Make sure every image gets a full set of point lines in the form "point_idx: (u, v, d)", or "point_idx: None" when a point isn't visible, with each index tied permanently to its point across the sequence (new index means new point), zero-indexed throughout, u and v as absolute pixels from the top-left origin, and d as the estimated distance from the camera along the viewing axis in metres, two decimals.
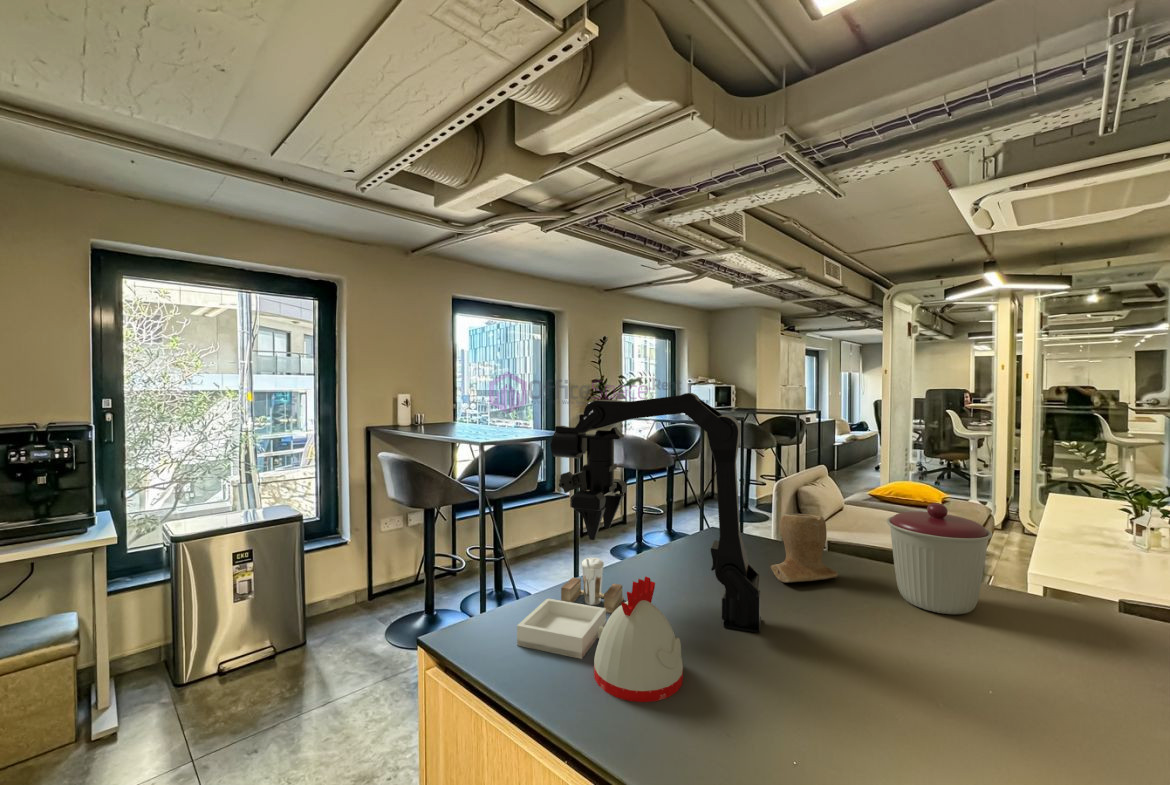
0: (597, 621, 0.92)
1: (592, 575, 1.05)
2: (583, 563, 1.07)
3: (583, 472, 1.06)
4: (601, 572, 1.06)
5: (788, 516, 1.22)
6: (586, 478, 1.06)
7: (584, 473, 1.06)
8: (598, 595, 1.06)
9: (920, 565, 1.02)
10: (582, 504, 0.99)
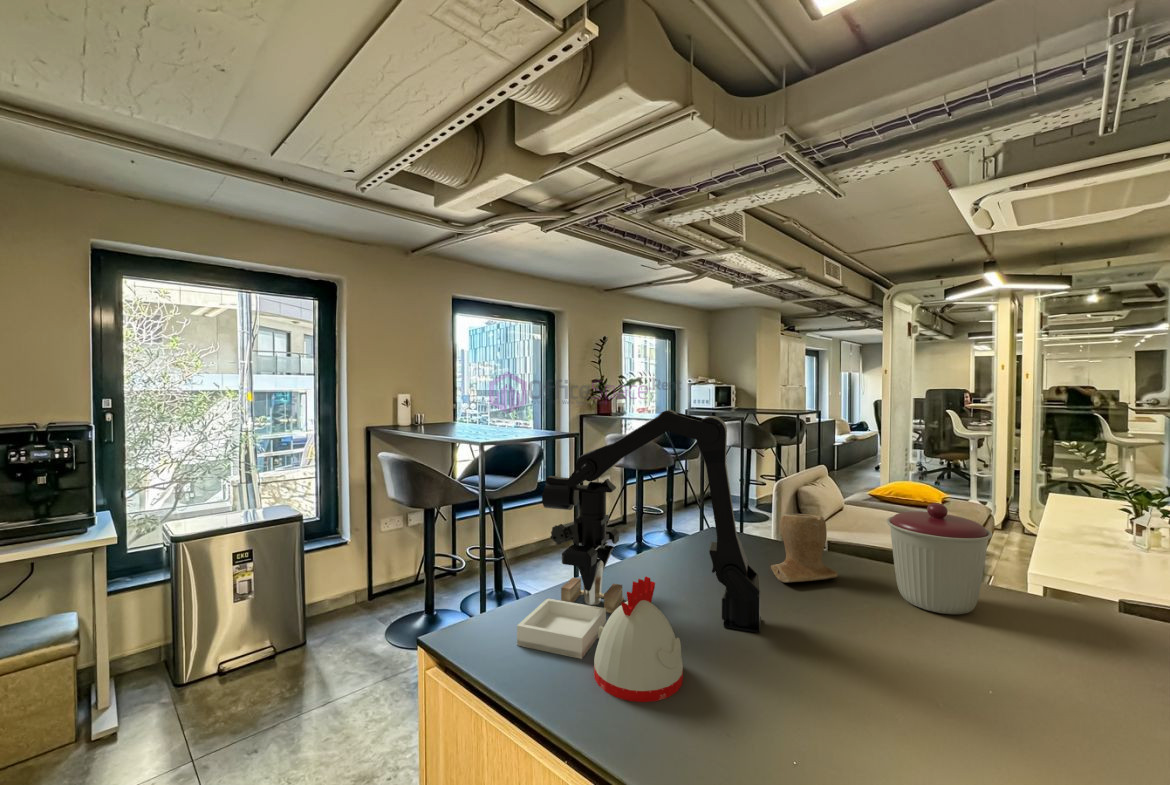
0: (597, 621, 0.92)
1: None
2: None
3: (575, 525, 1.06)
4: (601, 572, 1.06)
5: (788, 516, 1.22)
6: (578, 531, 1.05)
7: (576, 526, 1.05)
8: (598, 595, 1.06)
9: (920, 565, 1.02)
10: (573, 561, 0.98)
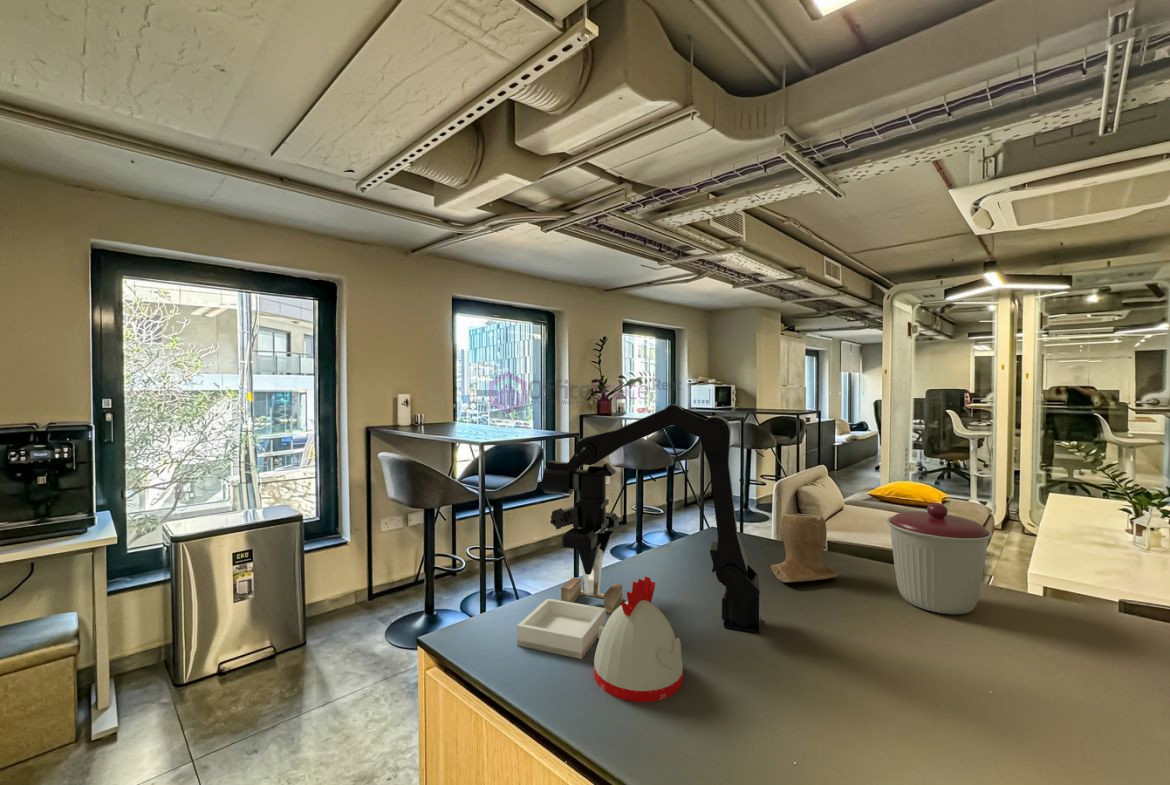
0: (597, 621, 0.92)
1: None
2: None
3: (575, 509, 1.05)
4: (601, 561, 1.06)
5: (788, 516, 1.22)
6: (578, 515, 1.05)
7: (576, 510, 1.05)
8: (597, 585, 1.05)
9: (920, 565, 1.02)
10: (573, 544, 0.98)
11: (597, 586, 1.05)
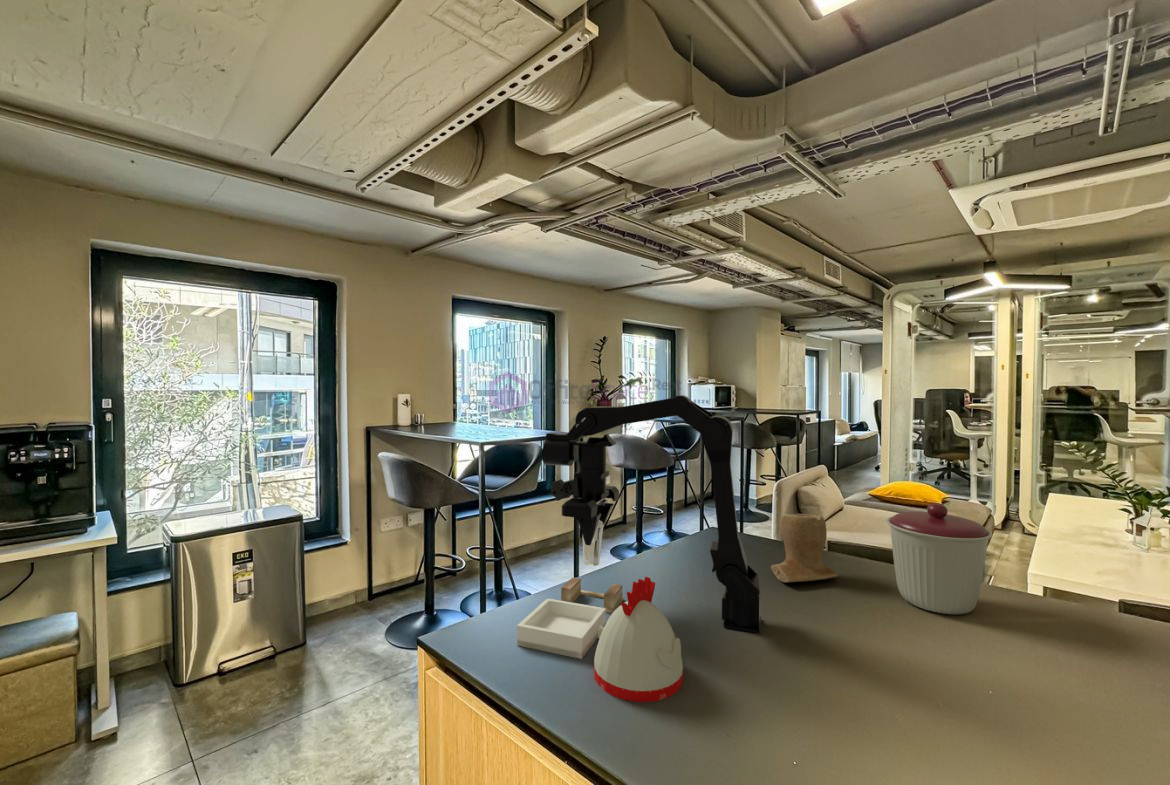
0: (597, 621, 0.92)
1: None
2: None
3: (575, 480, 1.05)
4: (601, 532, 1.06)
5: (788, 516, 1.22)
6: (578, 486, 1.05)
7: (576, 481, 1.05)
8: (597, 556, 1.05)
9: (920, 565, 1.02)
10: (573, 512, 0.98)
11: (597, 557, 1.05)
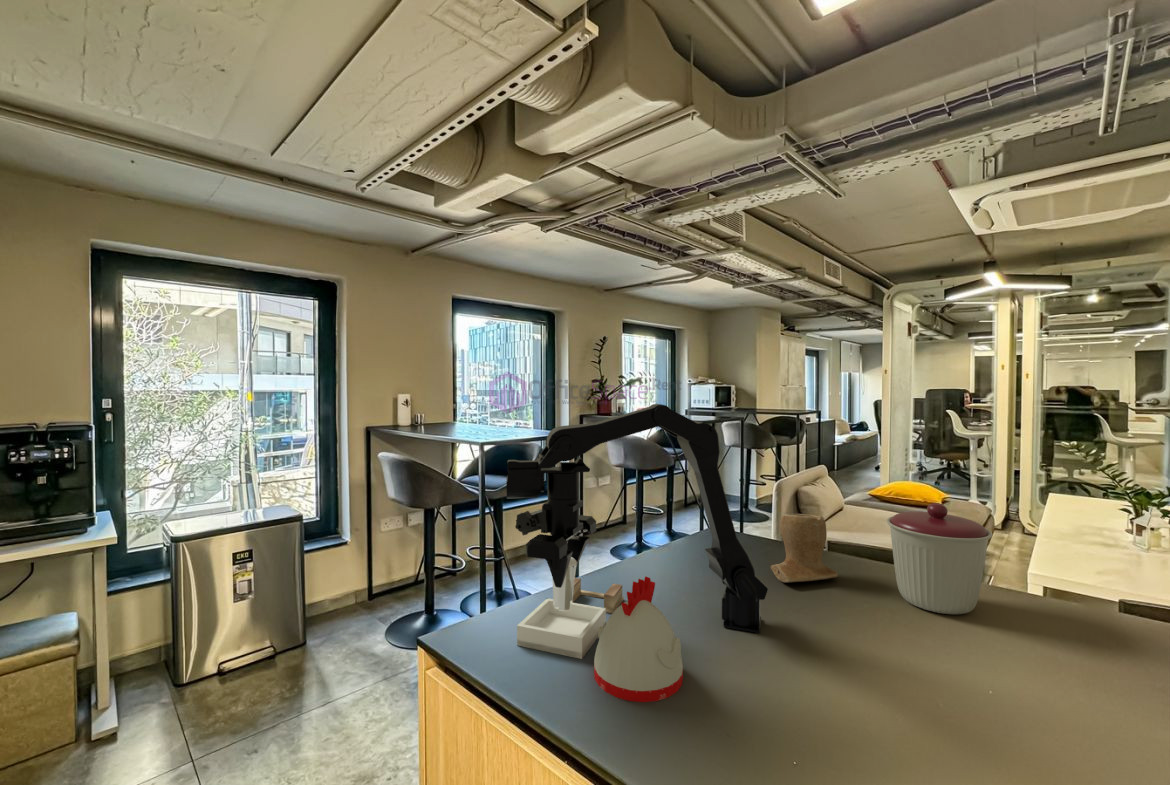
0: (597, 621, 0.92)
1: None
2: None
3: (543, 512, 0.91)
4: (573, 572, 0.92)
5: (788, 516, 1.22)
6: (546, 519, 0.91)
7: (544, 513, 0.91)
8: (569, 599, 0.91)
9: (920, 565, 1.02)
10: (539, 553, 0.84)
11: (569, 601, 0.91)
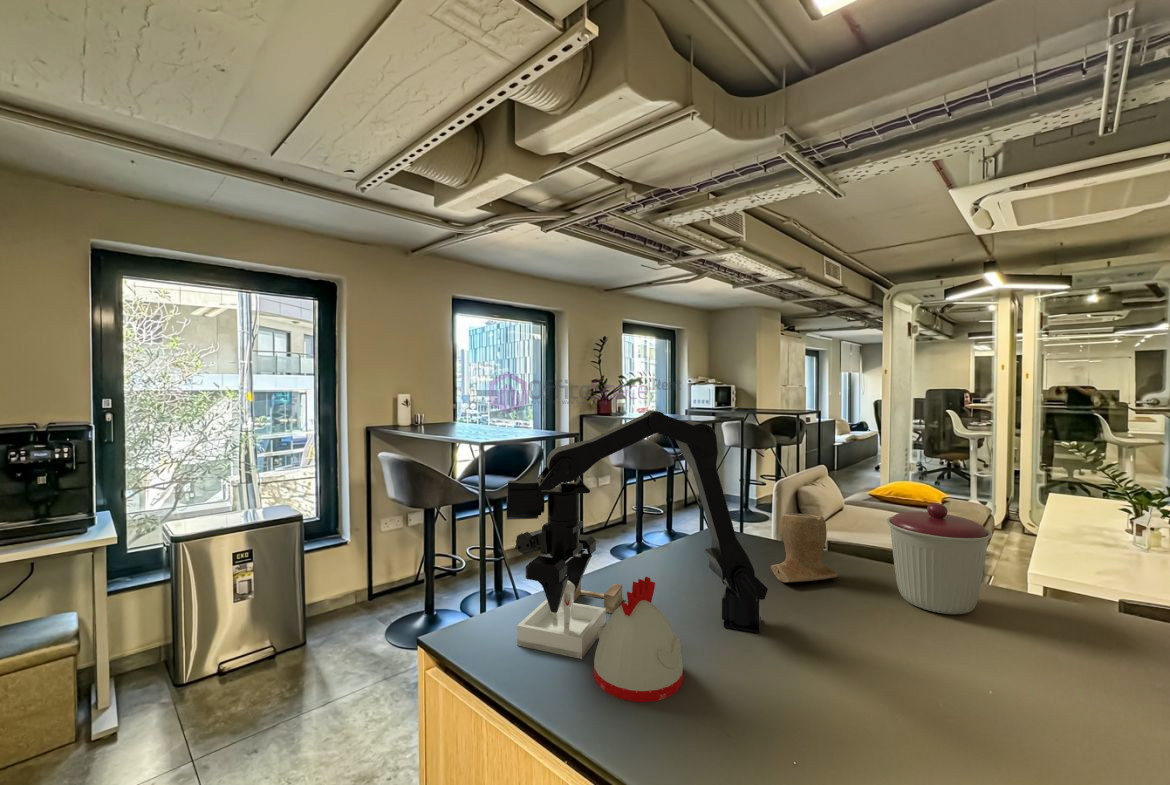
0: (597, 621, 0.92)
1: (561, 601, 0.90)
2: None
3: (543, 533, 0.91)
4: (572, 598, 0.91)
5: (788, 516, 1.22)
6: (546, 540, 0.91)
7: (544, 534, 0.91)
8: (568, 624, 0.91)
9: (920, 565, 1.02)
10: (539, 576, 0.84)
11: (568, 626, 0.91)
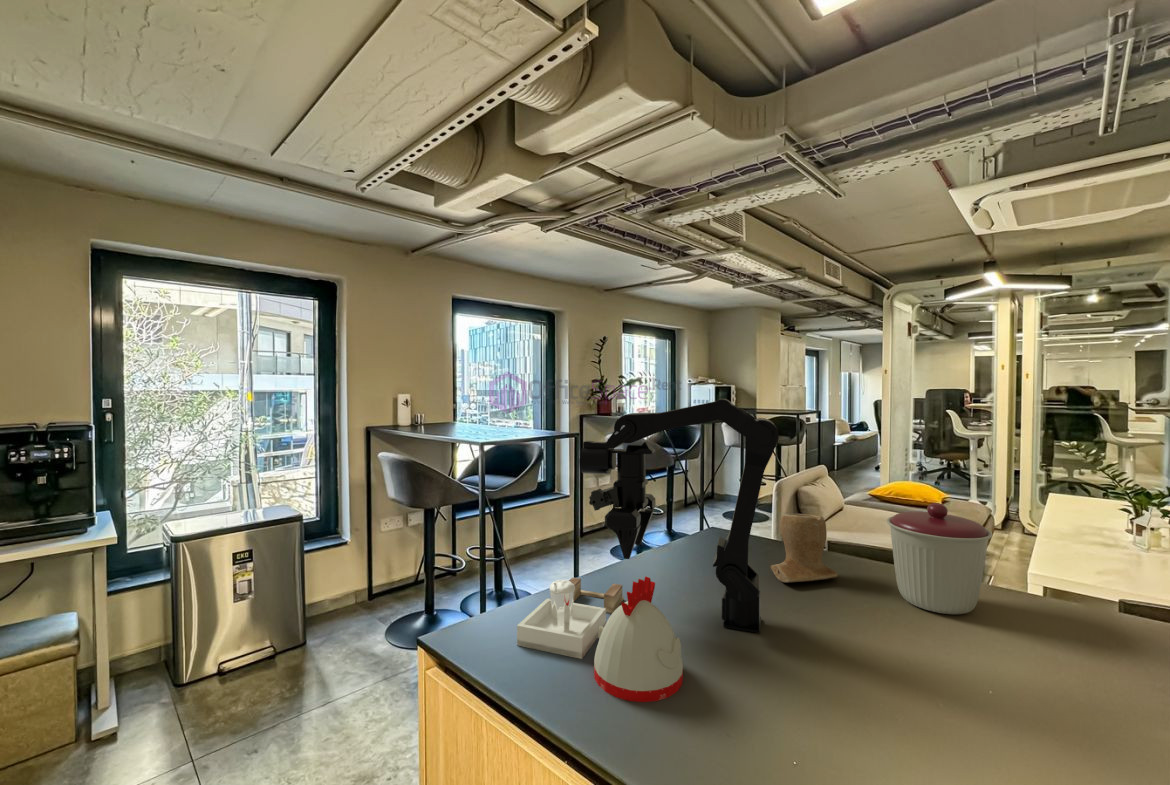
0: (597, 621, 0.92)
1: (561, 601, 0.90)
2: (551, 587, 0.91)
3: (614, 489, 1.03)
4: (572, 598, 0.91)
5: (788, 516, 1.22)
6: (618, 495, 1.03)
7: (616, 490, 1.03)
8: (568, 624, 0.91)
9: (920, 565, 1.02)
10: (618, 523, 0.96)
11: (568, 626, 0.91)
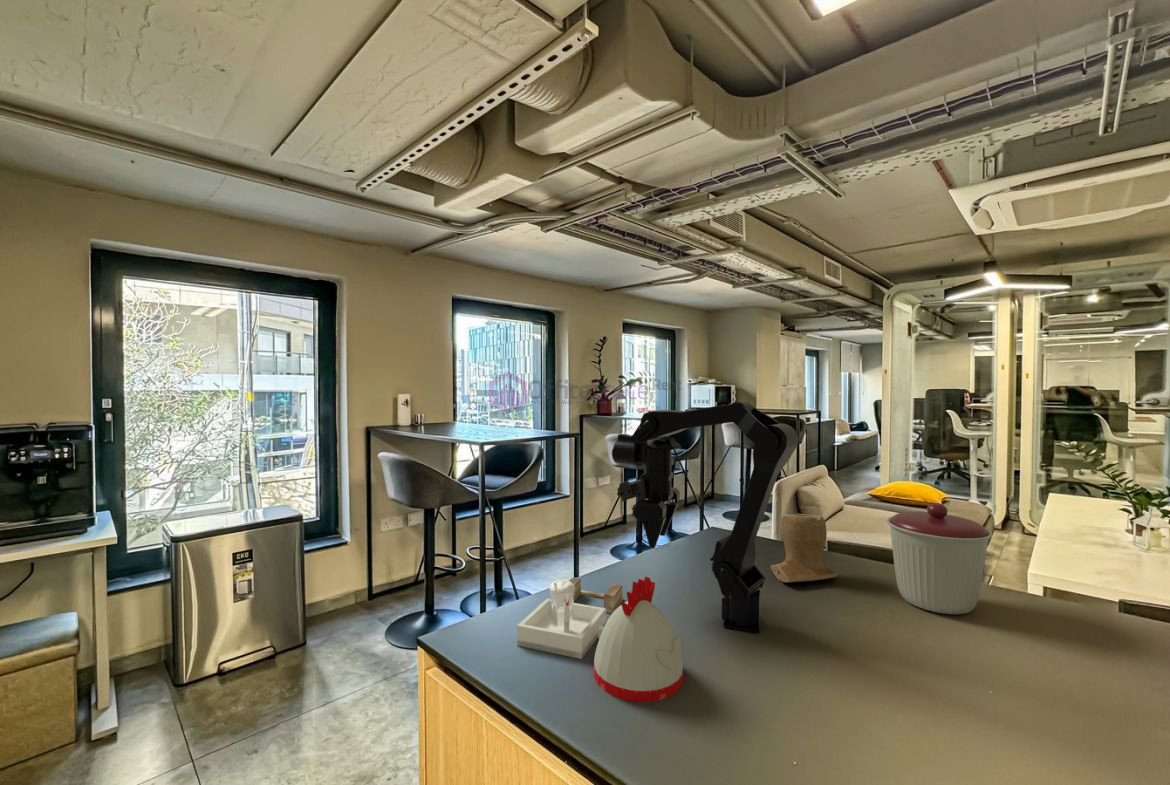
0: (597, 621, 0.92)
1: (561, 601, 0.90)
2: (551, 587, 0.91)
3: (641, 481, 1.08)
4: (572, 598, 0.91)
5: (788, 516, 1.22)
6: (645, 487, 1.08)
7: (643, 482, 1.08)
8: (568, 624, 0.91)
9: (920, 565, 1.02)
10: (645, 513, 1.01)
11: (568, 626, 0.91)
